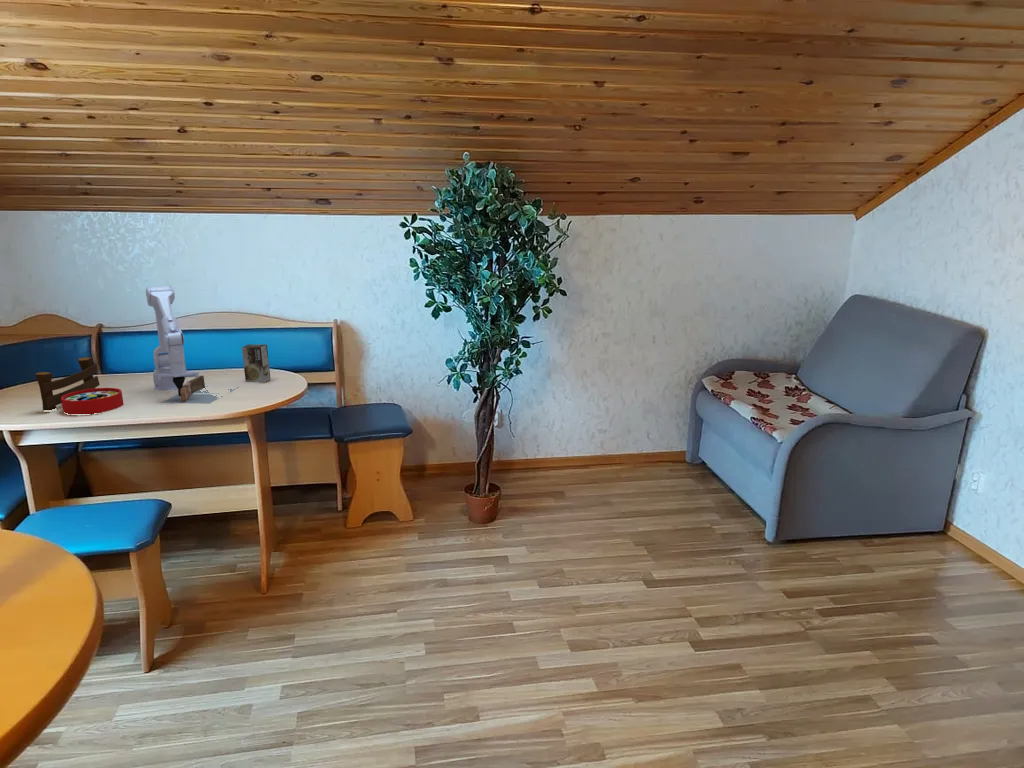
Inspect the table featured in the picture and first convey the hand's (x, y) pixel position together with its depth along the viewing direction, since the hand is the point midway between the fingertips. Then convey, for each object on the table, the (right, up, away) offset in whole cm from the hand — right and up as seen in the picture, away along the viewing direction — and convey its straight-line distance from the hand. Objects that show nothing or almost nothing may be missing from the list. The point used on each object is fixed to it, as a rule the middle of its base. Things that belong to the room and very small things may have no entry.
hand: (181, 395), depth 272 cm
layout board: (+5, 0, +8) cm, 9 cm away
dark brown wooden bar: (0, +2, +14) cm, 14 cm away
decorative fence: (-44, -3, 0) cm, 44 cm away
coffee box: (+19, +6, +31) cm, 37 cm away
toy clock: (-29, -5, -9) cm, 31 cm away
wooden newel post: (+1, -1, +2) cm, 2 cm away
